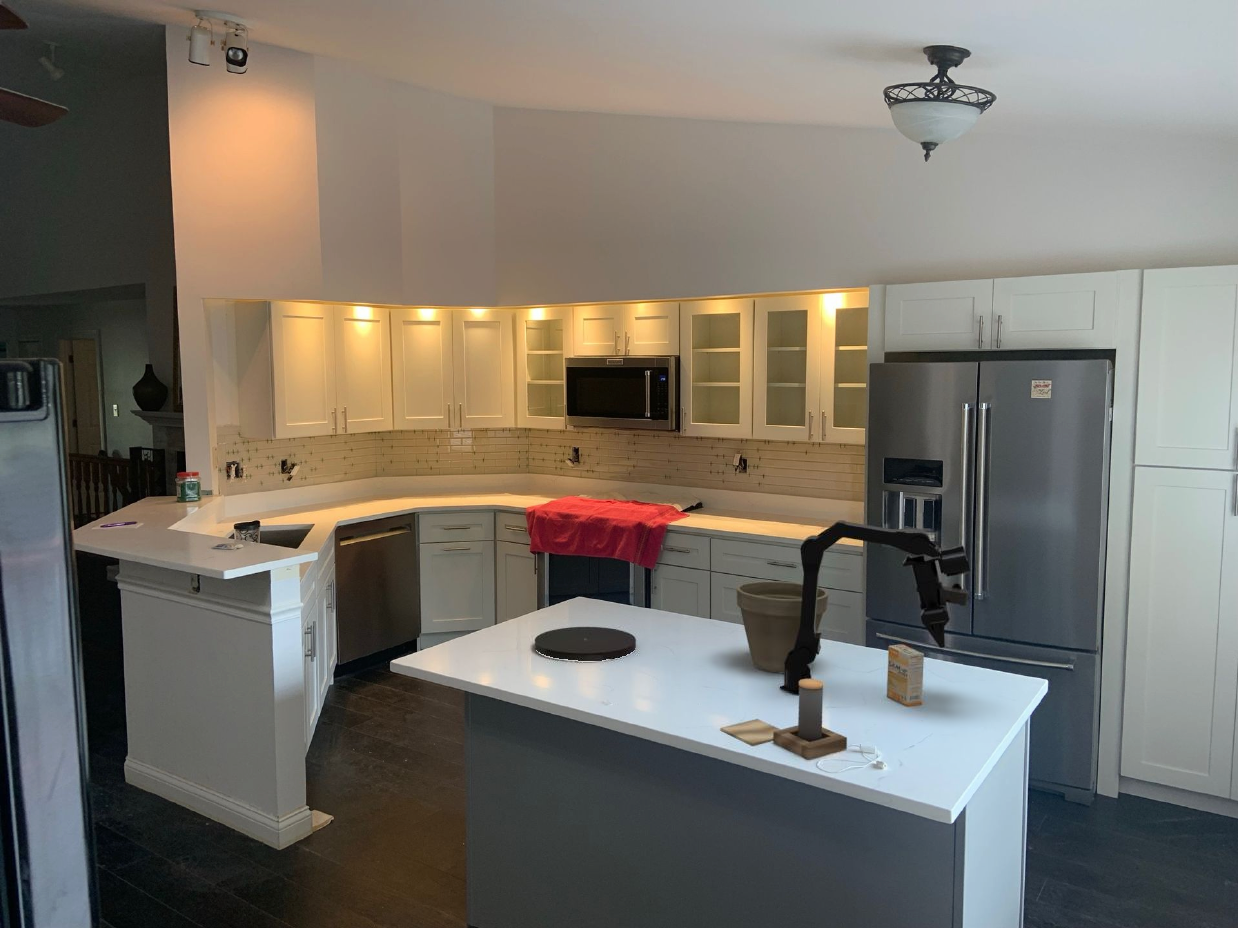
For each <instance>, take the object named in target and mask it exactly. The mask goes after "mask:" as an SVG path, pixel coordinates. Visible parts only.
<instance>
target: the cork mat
mask: <svg viewBox="0 0 1238 928" xmlns="http://www.w3.org/2000/svg"><path fill="white" fill-rule="evenodd" d="M719 730H720V731H722V732H723V733H725V734H728V735H730V736H732V737H733V738H735V737H736V738H735V739H737V740H739V741H741V742H743V743H745V744H748V745H749V746H752V747H753V746H757V745H762V744H765V743H769V742H773V732H774V731H778V730H781V728H779V727H776V726H775V725H772V724H770V723H767V722H765V721H763V720H761V719H759V718H755V719H750V720H747V721H743V722H740V723H739V722H738V723H735V724H731V725H727V726H723V727H720V729H719Z"/></svg>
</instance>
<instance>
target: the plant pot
mask: <svg viewBox="0 0 1238 928" xmlns="http://www.w3.org/2000/svg"><path fill="white" fill-rule="evenodd" d="M802 590H803V582H802V583H801V582H792V581H777V580H776V581H774V580H771V581H770V580H769V581H768V580H767V581H766V580H765V581H763V580H762V581H761V580H760V581H751V582H745V583H742V584H739V585H737V586H736V604H737V606H738V607H739V608H740V612H741V613H740V614H741V617H742V622H743V627H744V631H745V635H746V640H747V644H748V645H747V646H748V649H749V653H750V657H751V661H752V664H753V666H754V667H756V668H757V669H760V670H762V671H765V670H766V671H765V672H770V673H777V672H781V673H780V674H784V667H785V664H784V662H785V660H786V657H787V655H788V653H789V652H790V651H791V650H793V649H794V646H795V642H796V638H797V635H798V631H799V628H800V618H801V604H802ZM828 599H829V592H828V591H827V590H826V589H824V588H821V587H819V586H818V594H817V607H816V621H815V627H816V633H818V631H819V629H820V624H821V621H822V618H823V614H824V613H826V612H827V609H828Z"/></svg>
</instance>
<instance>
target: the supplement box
mask: <svg viewBox="0 0 1238 928" xmlns="http://www.w3.org/2000/svg"><path fill="white" fill-rule="evenodd" d="M924 661H925V654H924V652H921V651H919V650H916V649H914V648H912V647H909V646H907V645H905V644H894V645H889V646H888V653H887V678H886V680H887V681H886V682H887V684H886V697H888V698H890V699H892V700H894V701H896V702H897V703H898V702H899V703H901V704H902V705H904V706H905V707H914V706H920V705H922V704H923V687H924V686H923V685H924V684H923V682H924Z"/></svg>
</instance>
